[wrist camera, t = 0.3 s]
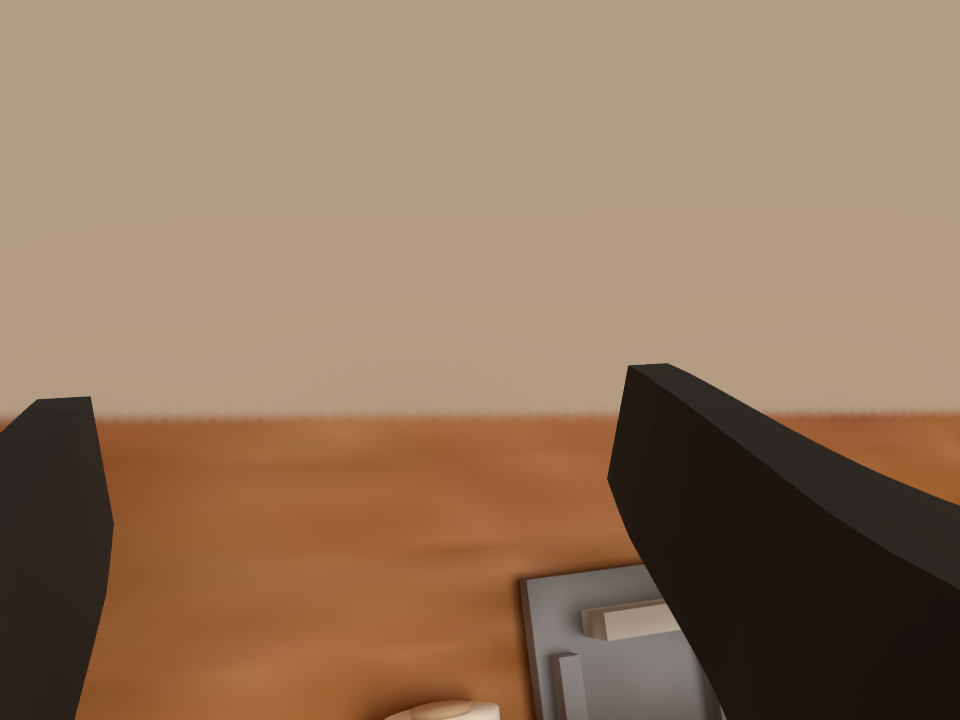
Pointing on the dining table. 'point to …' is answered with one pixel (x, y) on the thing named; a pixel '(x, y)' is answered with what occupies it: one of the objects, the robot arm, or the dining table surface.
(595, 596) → the roll cradle
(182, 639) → the dining table surface
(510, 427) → the dining table surface
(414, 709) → the paper roll
